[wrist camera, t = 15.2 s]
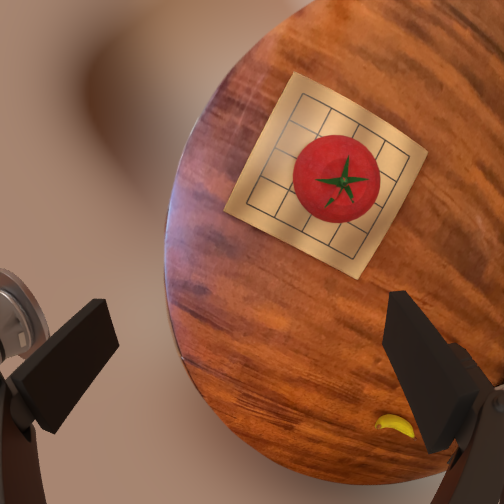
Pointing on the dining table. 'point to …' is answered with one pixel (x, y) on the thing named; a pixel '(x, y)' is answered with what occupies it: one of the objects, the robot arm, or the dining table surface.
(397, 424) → the fruit
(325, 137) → the tomato
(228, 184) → the dining table surface
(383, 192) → the board
